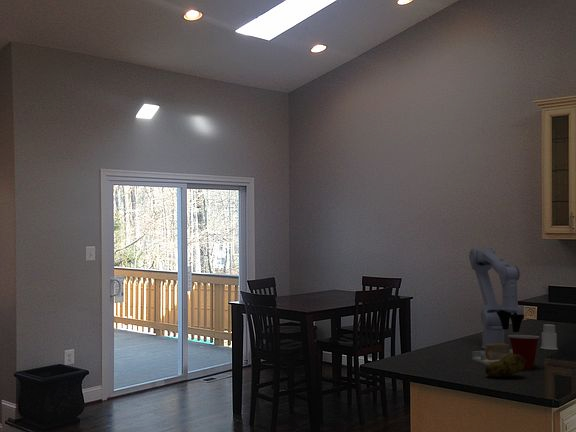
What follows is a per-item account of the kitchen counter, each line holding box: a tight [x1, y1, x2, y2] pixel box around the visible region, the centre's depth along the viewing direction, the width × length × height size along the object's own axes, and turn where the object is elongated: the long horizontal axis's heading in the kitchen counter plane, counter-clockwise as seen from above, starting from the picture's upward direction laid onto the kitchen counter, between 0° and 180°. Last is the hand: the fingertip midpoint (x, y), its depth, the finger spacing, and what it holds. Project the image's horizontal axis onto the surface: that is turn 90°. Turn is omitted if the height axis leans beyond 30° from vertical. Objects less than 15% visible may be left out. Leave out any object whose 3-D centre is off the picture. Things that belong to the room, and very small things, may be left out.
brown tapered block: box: [484, 342, 510, 360], centre depth 244 cm, size 4×8×6 cm, turn 102°
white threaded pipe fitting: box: [540, 323, 559, 351], centre depth 268 cm, size 8×7×10 cm
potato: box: [485, 354, 526, 378], centre depth 218 cm, size 8×13×8 cm, turn 68°
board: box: [471, 348, 513, 366], centre depth 246 cm, size 11×18×4 cm, turn 102°
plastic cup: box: [507, 334, 541, 371], centre depth 232 cm, size 11×11×12 cm
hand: (510, 330), depth 255 cm, fingers open, 7 cm apart
